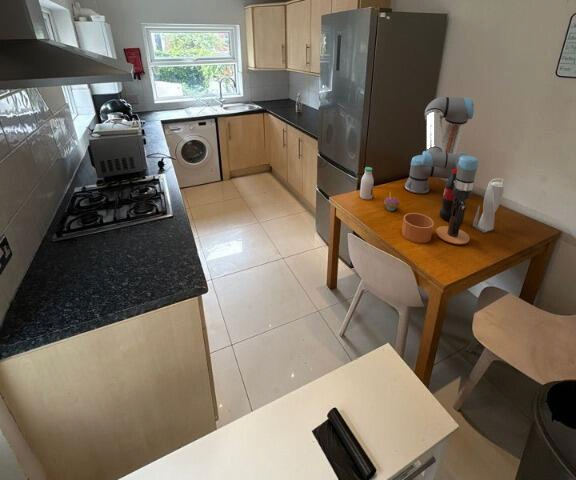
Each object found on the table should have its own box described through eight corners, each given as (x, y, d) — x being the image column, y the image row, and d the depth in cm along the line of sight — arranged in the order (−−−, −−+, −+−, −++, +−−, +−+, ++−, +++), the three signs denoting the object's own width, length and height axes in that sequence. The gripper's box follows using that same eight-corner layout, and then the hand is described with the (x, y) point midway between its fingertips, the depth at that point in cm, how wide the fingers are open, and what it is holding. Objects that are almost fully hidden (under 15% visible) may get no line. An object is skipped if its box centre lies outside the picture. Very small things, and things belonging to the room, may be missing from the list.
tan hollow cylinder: (400, 225, 162) (403, 211, 159) (429, 229, 158) (431, 215, 155) (402, 240, 149) (404, 225, 146) (432, 245, 145) (436, 230, 142)
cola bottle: (451, 214, 172) (462, 165, 161) (458, 222, 164) (469, 171, 153) (436, 214, 172) (445, 165, 162) (442, 222, 165) (452, 171, 154)
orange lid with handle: (433, 226, 160) (436, 209, 156) (465, 230, 156) (469, 213, 152) (438, 242, 146) (441, 224, 143) (472, 247, 142) (477, 229, 139)
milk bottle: (367, 201, 187) (370, 171, 180) (357, 196, 193) (359, 167, 186) (374, 197, 192) (377, 168, 185) (364, 193, 197) (367, 164, 190)
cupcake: (388, 213, 173) (391, 194, 169) (380, 206, 181) (382, 188, 177) (401, 211, 175) (404, 192, 171) (392, 204, 183) (395, 186, 179)
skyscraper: (482, 222, 164) (495, 175, 154) (497, 230, 157) (511, 181, 147) (471, 225, 161) (483, 177, 151) (485, 233, 154) (499, 184, 144)
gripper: (450, 180, 151) (442, 220, 159) (457, 195, 135) (448, 239, 143) (467, 181, 149) (457, 222, 157) (476, 197, 133) (465, 242, 141)
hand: (453, 230), depth 150 cm, fingers closed on orange lid with handle, 5 cm apart
